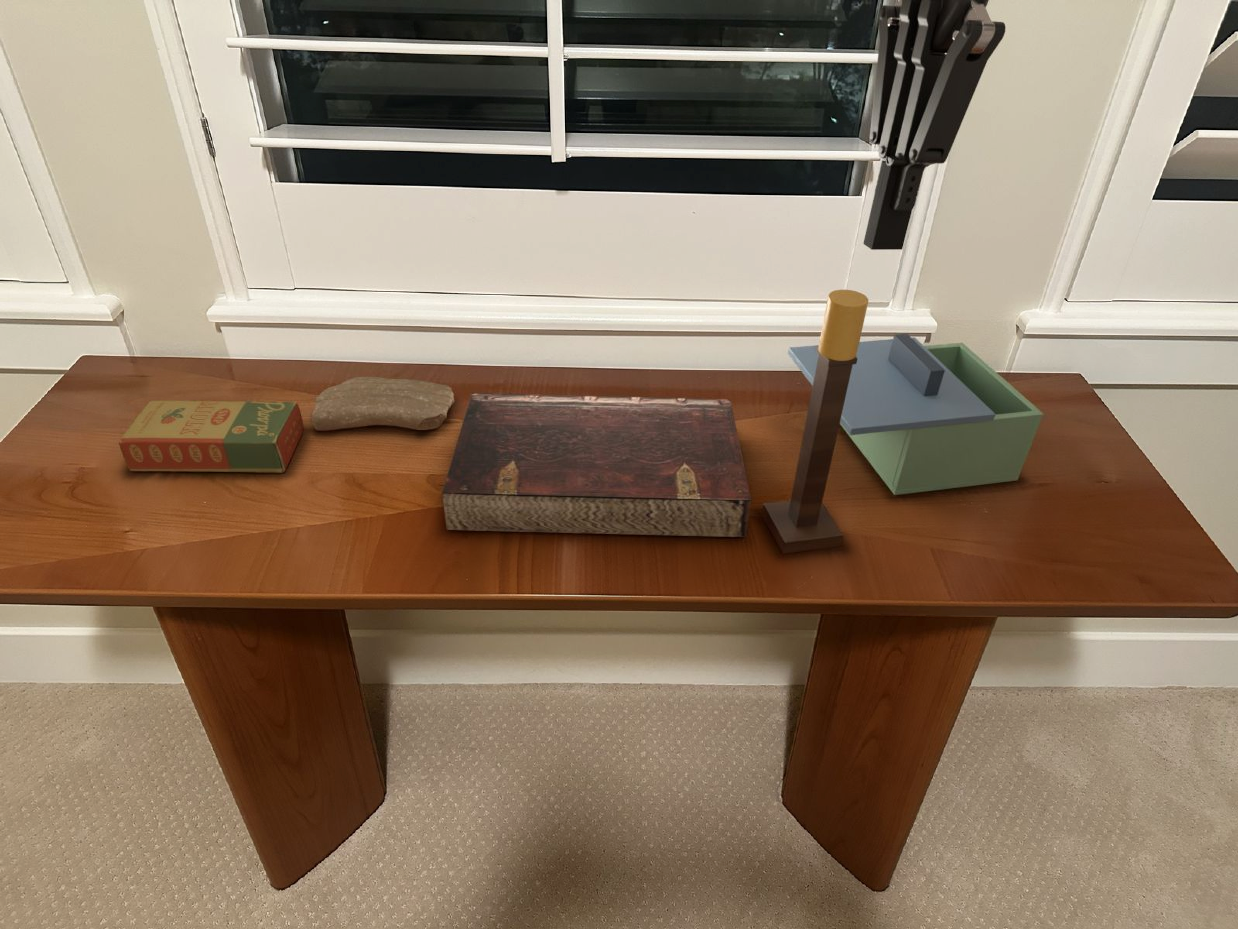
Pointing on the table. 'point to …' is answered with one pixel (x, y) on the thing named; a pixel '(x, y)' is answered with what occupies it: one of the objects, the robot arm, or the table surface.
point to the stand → (813, 467)
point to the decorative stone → (382, 404)
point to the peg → (842, 325)
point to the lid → (899, 388)
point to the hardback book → (598, 466)
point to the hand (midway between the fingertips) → (882, 246)
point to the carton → (213, 436)
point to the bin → (958, 436)
